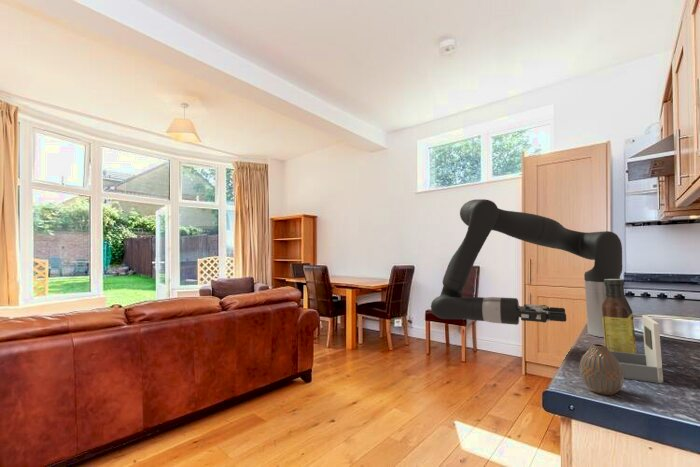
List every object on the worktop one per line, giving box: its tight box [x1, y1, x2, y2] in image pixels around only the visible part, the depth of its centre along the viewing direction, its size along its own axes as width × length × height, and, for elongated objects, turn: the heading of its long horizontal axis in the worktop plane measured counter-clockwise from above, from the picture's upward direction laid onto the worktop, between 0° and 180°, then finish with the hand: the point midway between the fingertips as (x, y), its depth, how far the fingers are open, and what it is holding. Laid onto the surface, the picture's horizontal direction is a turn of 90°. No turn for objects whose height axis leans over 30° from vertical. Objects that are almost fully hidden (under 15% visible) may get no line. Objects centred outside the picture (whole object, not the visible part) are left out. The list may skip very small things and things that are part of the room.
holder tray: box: [610, 314, 664, 384], centre depth 76 cm, size 10×11×12 cm
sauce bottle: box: [602, 278, 638, 354], centre depth 85 cm, size 6×6×20 cm
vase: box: [578, 343, 625, 396], centre depth 66 cm, size 7×7×9 cm
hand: (565, 314), depth 91 cm, fingers open, 8 cm apart
